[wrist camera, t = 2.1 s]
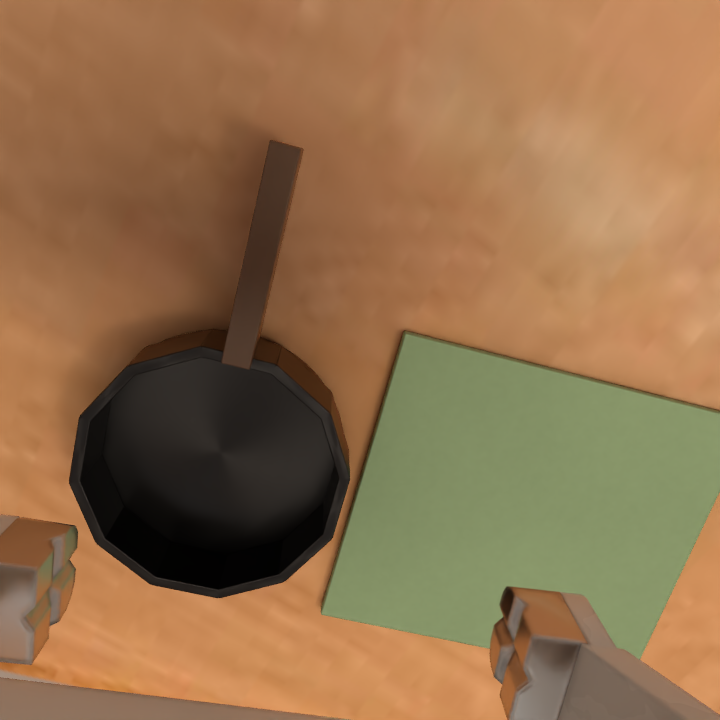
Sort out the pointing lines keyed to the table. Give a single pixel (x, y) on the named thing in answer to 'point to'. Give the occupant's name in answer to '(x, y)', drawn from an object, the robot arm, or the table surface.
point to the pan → (217, 441)
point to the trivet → (520, 496)
